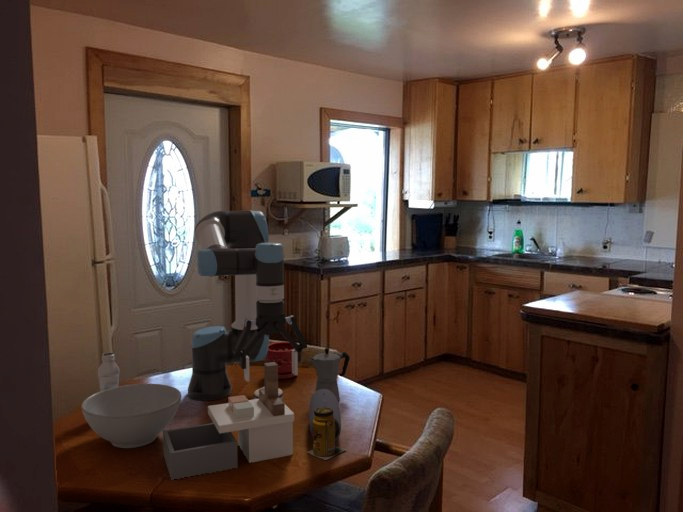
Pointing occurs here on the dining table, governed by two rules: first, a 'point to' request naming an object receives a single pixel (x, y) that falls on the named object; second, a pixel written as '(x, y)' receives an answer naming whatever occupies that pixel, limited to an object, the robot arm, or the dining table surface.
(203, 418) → the dining table surface
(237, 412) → the sage tile
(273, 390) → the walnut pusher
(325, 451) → the condiment
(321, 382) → the coffeepot
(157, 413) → the decorative bowl
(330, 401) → the bluetooth speaker
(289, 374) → the plant pot
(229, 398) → the terracotta tile
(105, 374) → the plastic bottle
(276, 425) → the board
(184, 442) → the box
